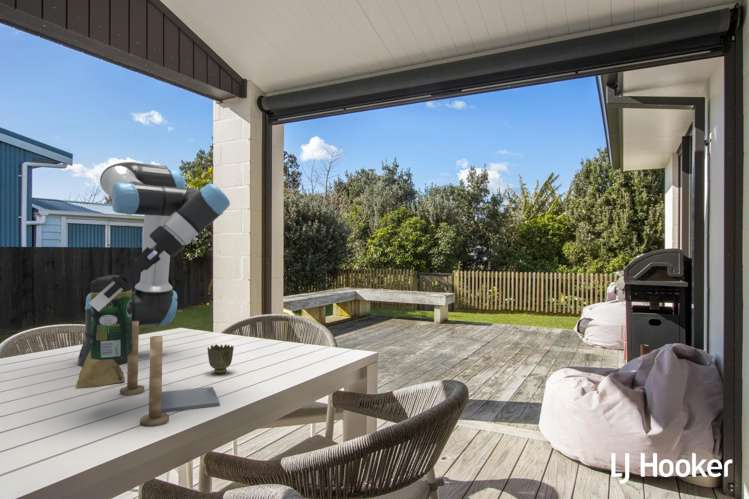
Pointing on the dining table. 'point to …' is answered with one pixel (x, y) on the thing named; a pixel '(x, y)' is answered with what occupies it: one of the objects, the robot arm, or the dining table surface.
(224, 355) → the cup
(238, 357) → the dining table surface
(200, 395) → the slate pad
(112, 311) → the coffee jar
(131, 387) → the dowel
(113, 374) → the rock
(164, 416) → the dowel
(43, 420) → the dining table surface
